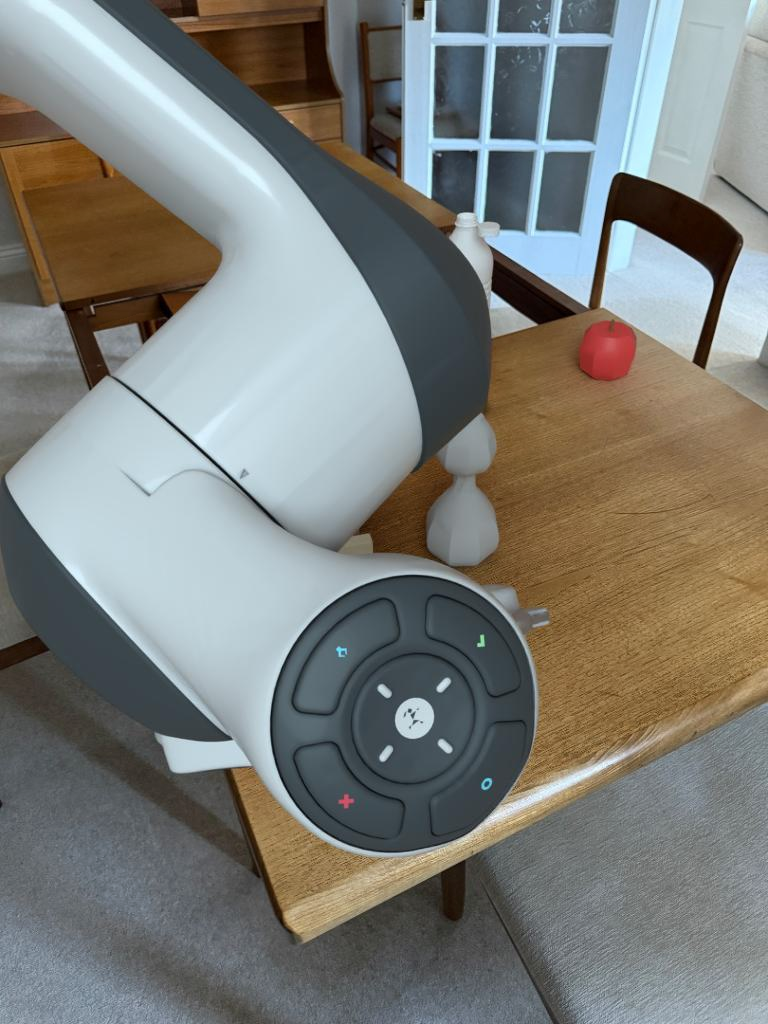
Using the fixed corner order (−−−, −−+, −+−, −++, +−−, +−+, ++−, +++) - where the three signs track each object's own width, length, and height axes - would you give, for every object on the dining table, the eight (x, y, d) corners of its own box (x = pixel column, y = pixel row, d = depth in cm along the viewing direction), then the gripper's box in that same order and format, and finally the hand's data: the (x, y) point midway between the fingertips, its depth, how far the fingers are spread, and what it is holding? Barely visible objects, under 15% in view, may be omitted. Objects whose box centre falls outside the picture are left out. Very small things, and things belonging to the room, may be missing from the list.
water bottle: (425, 402, 100) (427, 211, 84) (466, 389, 102) (475, 201, 86) (460, 433, 94) (469, 234, 78) (503, 419, 96) (520, 223, 80)
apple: (568, 361, 107) (575, 309, 102) (622, 358, 108) (632, 306, 103) (583, 388, 101) (591, 335, 96) (640, 385, 102) (652, 331, 96)
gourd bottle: (438, 520, 81) (441, 355, 68) (507, 538, 78) (525, 369, 66) (412, 567, 75) (410, 396, 63) (485, 587, 73) (500, 413, 60)
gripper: (549, 550, 35) (473, 562, 49) (109, 638, 32) (158, 625, 46) (577, 681, 35) (493, 657, 49) (133, 784, 32) (176, 728, 45)
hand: (328, 642), depth 47 cm, fingers closed
